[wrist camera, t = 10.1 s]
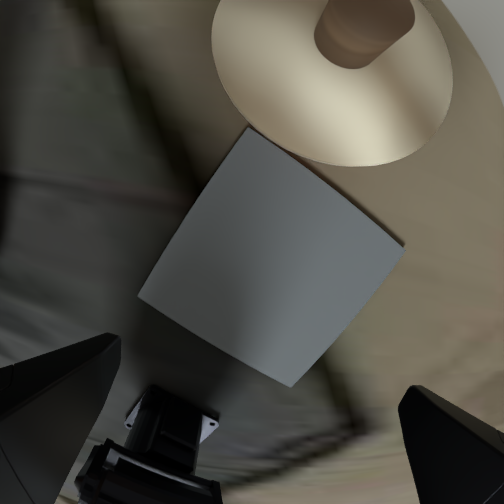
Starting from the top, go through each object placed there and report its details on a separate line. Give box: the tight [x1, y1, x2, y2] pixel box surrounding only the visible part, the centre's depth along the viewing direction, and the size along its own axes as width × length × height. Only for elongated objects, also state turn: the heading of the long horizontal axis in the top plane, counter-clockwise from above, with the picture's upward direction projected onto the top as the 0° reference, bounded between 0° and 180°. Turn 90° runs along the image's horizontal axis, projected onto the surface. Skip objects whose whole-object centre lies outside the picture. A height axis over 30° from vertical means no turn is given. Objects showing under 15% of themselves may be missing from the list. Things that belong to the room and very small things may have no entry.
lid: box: [211, 0, 453, 167], centre depth 10 cm, size 12×12×5 cm
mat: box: [138, 127, 406, 388], centre depth 20 cm, size 13×13×1 cm
